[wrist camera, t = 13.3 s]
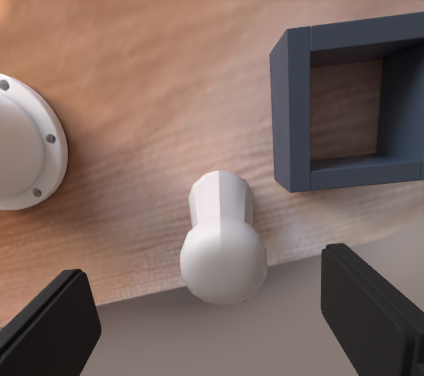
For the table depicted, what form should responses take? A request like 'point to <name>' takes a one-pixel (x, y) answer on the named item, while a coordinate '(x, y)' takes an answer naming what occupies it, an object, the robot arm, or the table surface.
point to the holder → (389, 101)
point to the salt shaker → (222, 241)
